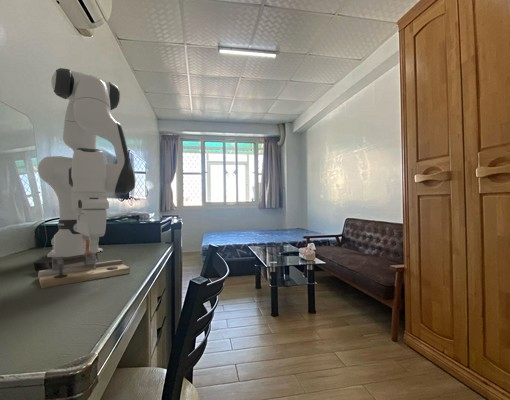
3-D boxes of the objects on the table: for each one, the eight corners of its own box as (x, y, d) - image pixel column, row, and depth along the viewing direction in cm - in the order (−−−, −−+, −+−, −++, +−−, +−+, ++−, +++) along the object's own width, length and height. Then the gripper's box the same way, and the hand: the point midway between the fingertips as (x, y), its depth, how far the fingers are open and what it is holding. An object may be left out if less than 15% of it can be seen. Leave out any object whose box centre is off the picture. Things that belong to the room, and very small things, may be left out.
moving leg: (83, 265, 78) (83, 239, 78) (93, 264, 80) (93, 238, 80) (89, 270, 72) (89, 242, 73) (99, 268, 74) (99, 241, 74)
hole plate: (38, 278, 73) (38, 258, 73) (117, 266, 86) (117, 249, 86) (41, 288, 64) (41, 265, 64) (129, 273, 77) (129, 253, 77)
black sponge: (47, 275, 77) (47, 263, 77) (31, 273, 80) (31, 260, 80) (101, 264, 91) (101, 253, 91) (85, 262, 95) (85, 251, 95)
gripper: (71, 203, 84) (71, 247, 84) (83, 202, 69) (83, 256, 68) (94, 203, 88) (94, 245, 88) (110, 202, 73) (110, 253, 73)
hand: (89, 250), depth 78 cm, fingers open, 8 cm apart
